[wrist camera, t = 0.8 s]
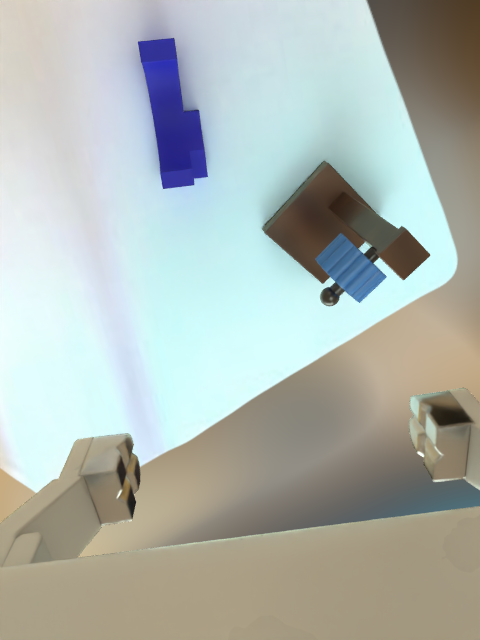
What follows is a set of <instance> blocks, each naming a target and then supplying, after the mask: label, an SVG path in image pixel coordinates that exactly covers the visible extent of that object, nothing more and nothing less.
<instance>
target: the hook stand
mask: <svg viewBox="0 0 480 640" xmlns="http://www.w3.org/2000/svg"><path fill="white" fill-rule="evenodd" d="M262 229H263V231H264V233H265V234H266V235H268V236H269V237H270V238H271V239H272V240H273V241H274V242H276V243H277V244H278V245H279V246H280V247H281V248H282V249H284V250H285V251H286V252H287V253H288V254H289V255H290V256H291V257H293V258H294V259H295V260H296V261H297V262H298V263H299V264H301V265H302V266H303V267H304V268H305V269H306V270H307V271H309V272H310V273H311V274H312V275H313V276H314V277H315V278H317V279H318V280H319V281H320V282H321V283H322V284H323V283H324V282H325V281H326V280H327V279H328V278H329V277H330V276H329V275H328V274H327V273H326V272H325V271H324V270H323V269H322V267H321V266H320V265H319V264H318V263H317V261H316V260H315V259H316V258H317V257H318V256H319V255H320V253H321V252H322V251H323V250H324V249H325V248H326V247H327V246H328V245H329V244H330V243H331V242H332V241H333V240H334V239H335V238H336V237H337V236H338V235H339V234H340V233H342V234H343V235H344V236H345V237H346V238H347V239H348V240H349V241H350V242H351V243H352V244H354V245H355V246H356V247H357V248H359V247H360V246H361V245H362V244H364V243H367V244H368V245H369V246H370V247H371V248H370V249H369V250H368V251H367V252H366V253H365V254H364V255H365V256H366V257H367V258H368V259H369V260H370V261H371V262H372V263H374V262H375V261H376V260H377V259H378V258H379V257H380V258H381V259H382V260H383V261H384V262H385V263H386V264H387V265H388V266H389V267H390V268H391V269H392V270H393V271H394V272H395V273H396V274H397V275H398V276H399V277H400V278H401V279H402V280H405V279H406V278H407V277H408V276H409V275H410V274H411V273H412V272H413V271H414V270H415V269H416V268H418V267H419V266H420V265H421V264H422V263H423V262H424V261H425V260H426V259H427V258H428V257H429V256H430V254H429V253H428V252H427V251H426V250H425V249H424V248H423V246H422V245H421V244H420V243H419V242H418V241H417V240H416V239H415V238H414V237H413V236H412V235H411V234H410V232H409V231H408V230H407V229H406V228H404V227H403V226H401V227H400V228H399V229H398V228H396V227H395V226H393V225H392V224H390V223H389V222H387V221H386V220H385V219H383V218H382V217H380V216H379V215H377V213H376V212H375V211H374V210H373V209H372V208H371V207H370V206H369V205H368V204H367V203H366V202H365V201H364V200H363V199H362V198H361V197H360V196H359V195H358V194H357V192H356V191H355V190H354V189H353V188H352V187H351V186H350V185H349V184H348V183H347V182H346V181H345V180H344V179H343V178H342V177H341V176H340V175H339V174H338V173H337V171H336V170H335V169H334V168H333V167H332V166H331V165H330V164H329V163H327V162H326V161H324V162H323V163H322V164H321V165H320V166H319V167H318V168H317V169H316V170H315V171H314V172H313V174H312V175H311V176H310V177H309V178H308V179H307V180H306V181H305V182H304V183H303V185H302V186H301V187H300V188H299V189H298V190H297V191H296V192H295V193H294V194H293V195H292V197H291V198H290V199H289V200H288V201H287V202H286V203H285V204H284V205H283V206H282V208H281V209H280V210H279V211H278V212H277V213H276V214H275V215H274V216H273V217H272V218H271V220H270V221H269V222H268V223H267V224H266V225H265V226H264V227H263V228H262ZM344 291H345V290H344V289H343V288H341V287H340V286H339V285H338V284H337V283H336V282H335V283H334V284H333V285H332V286H331V287H327V288H325V289H324V290H323V291H322V292H321V294H320V299H321V302H322V303H323V304H324V305H326V306H333V305H335V304H337V302H338V301H339V296H340V295H341V294H342V293H343V292H344Z"/></svg>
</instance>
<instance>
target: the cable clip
mask: <svg viewBox="0 0 480 640" xmlns="http://www.w3.org/2000/svg"><path fill="white" fill-rule="evenodd" d="M138 45H139V51H140V57H141V63H142V65H143V68H144V72H145V77H146V81H147V86H148V91H149V97H150V102H151V108H152V114H153V119H154V126H155V132H156V138H157V145H158V153H159V161H160V174H161V180H162V186H163V189H166V188H174V187H182V186H190V185H194V178H202V177H208V175H207V166H206V158H205V150H204V144H203V137H202V130H201V123H200V115H199V110H194V111H185V112H184V111H183V104H182V96H181V89H180V81H179V73H178V64H177V55H176V47H175V40H174V38H171V39H161V40H150V41H140V42H138Z"/></svg>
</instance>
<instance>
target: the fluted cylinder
mask: <svg viewBox="0 0 480 640" xmlns="http://www.w3.org/2000/svg"><path fill="white" fill-rule="evenodd" d="M315 260H316V261H317V263H318V264H319V265H320V266H321V267H322V269H323V270H324V271H325V272H326V273H327V274H328V275H329V276H330V277H331V278H332V279H333V280H334V281H335V282H336V283H337V284H338V285H339V286H340V287H341V288H343V289H344V290H345V291H346V292H347V293H348V294H349V295H350V296H352V297H353V298H354V299H355V300H357V301H358V302H359V303H360V302H361V301H362V300H363V299H364V298H365V297H366V296H367V295H368V294H369V293H371V292H372V291H373V290H374V289H375V288H376V287H377V286H378V285H379V284H380V283H381V282H382V281H383V280H384V279H385V278H386V275H384V273H383V272H381V271H380V270H379V269H378V268H377V267H376V266H375V265H374V264H373V263H372V262H371V261H370V260H369V259H368V258H367V257H366V256H365V255H364V254H363V253H362V252H361V251H360V250H359V249H358V248H357V247H356V246H355V245H354V244H352V243H351V242H350V241H349V240H348V239H347V238H346V237H345V236H344V235H343V234H342V233H340V234H339V235H338V236H337V237H336V238H335V239H334V240H333V241H332V242H331V243H330V244H329V245H328V246H327V247H326V248H325V249H324V250H323V251H322V252H321V253H320V255H319V256H318V257H317V258H316V259H315Z"/></svg>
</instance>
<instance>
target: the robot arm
mask: <svg viewBox="0 0 480 640" xmlns="http://www.w3.org/2000/svg"><path fill="white" fill-rule="evenodd" d="M410 409H411V411H412V412H413V414H414V415H413V417H412V418H411V419H410V420H409V432H410V437H411V441H412V443H413V446H414V448H415V450H416V452H417V453H418V454H419V455H421V456H424V466H425V468H426V469H427V471H428V473H429V475H430V476H431V478H432V480H433V481H434V482H439V481H448V480H458V479H465V480H466V481H467V482H469V483H470V484H472V485H473V486H474V487H476V488H477V489H479V490H480V403H479V402H478V401H477V400H476V398H475V397H474V396H473V395H472V394H471V393H470V392H469V390H468V389H466V388H459V389H453V390H447V391H444V392H437V393H430V394H422V395H415V396H411V399H410ZM133 445H134V444H133V441H132V438H131V435H130V434H128V433H125V434H116V435H107V436H98V437H90V438H83V439H78V440H76V441H75V442H74V444H73V447H72V449H71V451H70V454H69V456H68V458H67V461H66V463H65V465H64V467H63V470H62V472H61V474H60V477H59V479H55V480H52V481H51V482H50V483H49V484H48V485H46V486H45V487H44V488H43V489H41V490H40V491H39V492H38V493H36V494H35V495H34V496H33V497H31V498H30V499H29V500H28V501H27V502H25V503H24V504H23V505H22V506H20V507H19V508H18V509H17V510H15V511H14V512H13V513H12V514H10V515H9V516H8V517H7V518H6V519H4V520H3V521H2V522H1V523H0V640H480V506H477V507H470V508H462V509H454V510H446V511H438V512H431V513H423V514H415V515H408V516H400V517H392V518H384V519H377V520H368V521H360V522H353V523H345V524H337V525H329V526H321V527H314V528H307V529H299V530H291V531H283V532H276V533H267V534H260V535H251V536H244V537H236V538H229V539H221V540H213V541H205V542H197V543H190V544H182V545H173V546H166V547H158V548H150V549H142V550H135V551H126V552H119V553H111V554H103V555H96V556H87V557H80V558H77V557H78V556H79V555H80V554H81V552H82V551H83V550H84V549H85V547H86V546H87V545H88V544H89V543H90V541H91V540H92V539H93V538H94V536H95V535H96V534H97V533H98V532H99V530H100V529H101V528H102V527H101V526H104V525H110V524H117V523H123V522H129V521H132V518H133V514H134V509H135V504H136V501H135V497H134V494H135V493H136V492H137V491H138V489H139V485H140V466H139V461H138V457H137V456H136V455H135V454H133V453H132V449H133Z"/></svg>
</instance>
